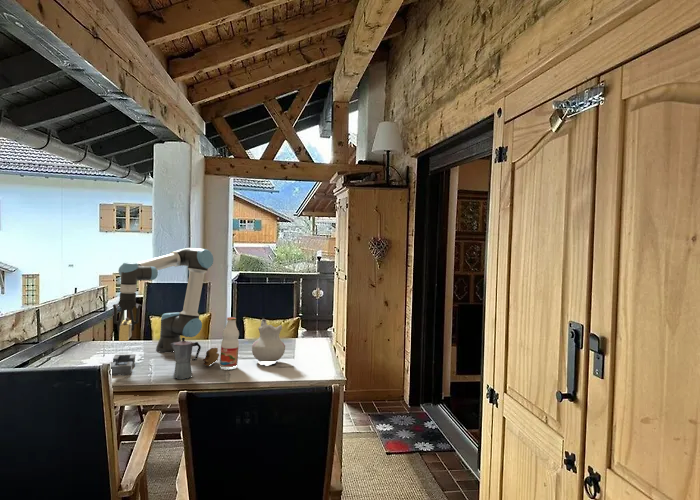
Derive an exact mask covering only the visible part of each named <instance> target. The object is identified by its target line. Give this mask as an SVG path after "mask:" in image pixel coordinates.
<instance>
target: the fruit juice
mask: <svg viewBox="0 0 700 500" xmlns="http://www.w3.org/2000/svg"><path fill="white" fill-rule="evenodd" d="M236 321H237V317H234V316H230V317H229V316H228V317H227V318H226V322H227V323H226V324H225V327H224V329H222V333H221V335H222V340H221V344H220V354H219V356H220V359H219V367H220V366H221V367H233V366H236V365H237V366H238V361H239V360H238V359H239V347H240V345H239V344H240V343H239V336H240V331H239V330H238V329H239V328H238V327H237V323H236Z"/></svg>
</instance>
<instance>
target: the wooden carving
mask: <svg viewBox="0 0 700 500" xmlns="http://www.w3.org/2000/svg"><path fill="white" fill-rule="evenodd" d="M218 351H219V349H218V348H217V347H211V348H210V349H208V350H207V351H206V353H205V358H203V360H202V361H203V366H205V365H206V366H205V367H209V365H210V364H212V363H213V362H215V361H216V360H217V361H218V360H219V356H220V353H218ZM215 363H216V362H215Z"/></svg>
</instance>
